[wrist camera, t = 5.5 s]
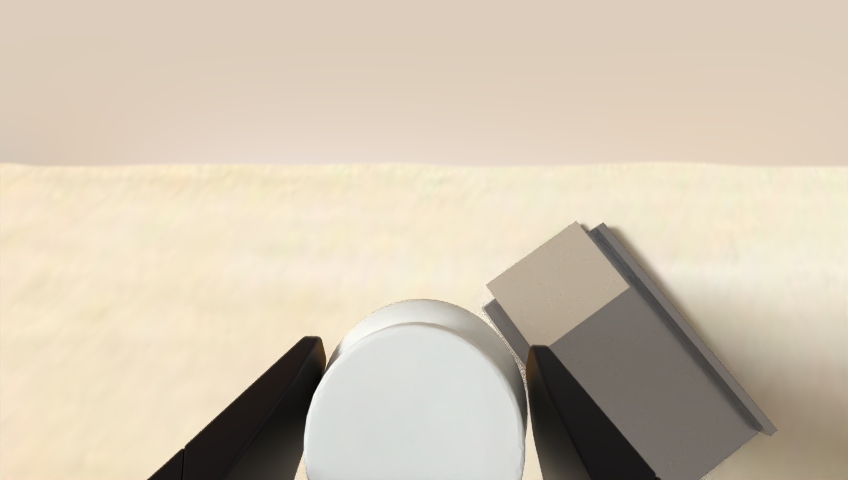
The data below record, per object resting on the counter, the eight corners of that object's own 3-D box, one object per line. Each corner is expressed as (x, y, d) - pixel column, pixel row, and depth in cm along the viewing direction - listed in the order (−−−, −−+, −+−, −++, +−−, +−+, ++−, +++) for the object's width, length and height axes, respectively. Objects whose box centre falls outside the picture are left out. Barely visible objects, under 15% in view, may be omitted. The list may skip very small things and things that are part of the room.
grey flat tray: (758, 423, 20) (777, 430, 19) (633, 521, 20) (645, 535, 19) (585, 214, 23) (592, 209, 22) (471, 294, 23) (473, 293, 21)
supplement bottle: (443, 466, 15) (443, 716, 5) (344, 382, 16) (198, 473, 6) (516, 358, 16) (626, 413, 6) (418, 283, 17) (386, 235, 7)
